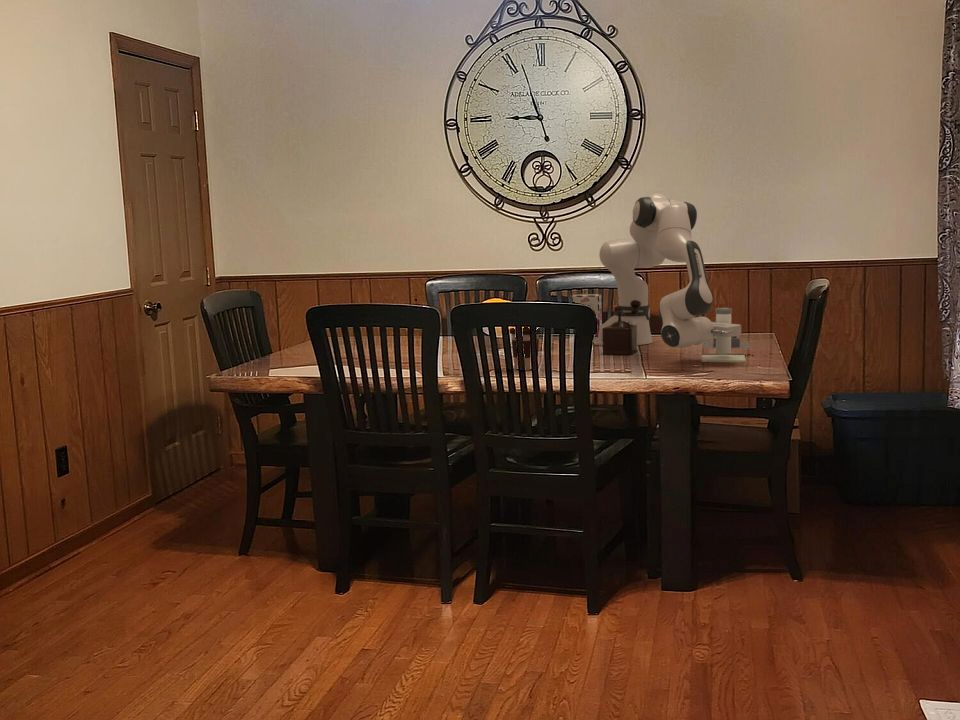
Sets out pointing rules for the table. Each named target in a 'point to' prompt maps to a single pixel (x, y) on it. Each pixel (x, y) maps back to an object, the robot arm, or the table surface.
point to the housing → (734, 343)
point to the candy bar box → (592, 301)
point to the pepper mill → (621, 334)
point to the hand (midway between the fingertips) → (725, 326)
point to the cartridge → (723, 342)
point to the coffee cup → (526, 346)
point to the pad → (723, 357)
